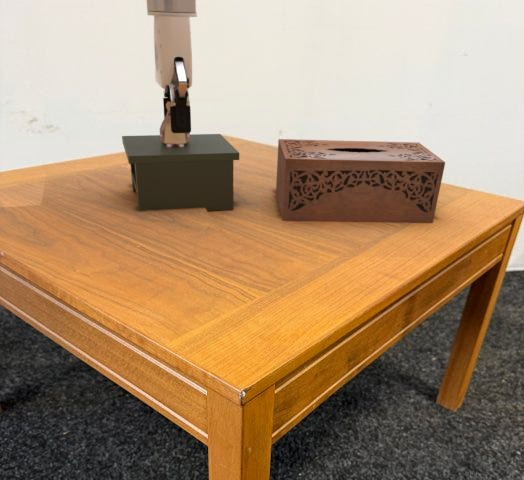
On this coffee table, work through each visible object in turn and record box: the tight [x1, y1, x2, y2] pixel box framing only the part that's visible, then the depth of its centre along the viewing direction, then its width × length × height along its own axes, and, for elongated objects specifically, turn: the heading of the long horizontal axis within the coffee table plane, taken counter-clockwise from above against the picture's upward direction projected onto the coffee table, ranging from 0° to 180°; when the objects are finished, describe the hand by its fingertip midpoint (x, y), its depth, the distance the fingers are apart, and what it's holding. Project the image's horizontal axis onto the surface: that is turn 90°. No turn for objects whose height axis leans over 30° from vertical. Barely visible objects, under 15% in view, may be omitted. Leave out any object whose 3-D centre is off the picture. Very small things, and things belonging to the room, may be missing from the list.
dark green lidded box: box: [121, 133, 240, 212], centre depth 97 cm, size 18×15×10 cm
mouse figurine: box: [159, 102, 191, 147], centre depth 94 cm, size 5×8×7 cm, turn 7°
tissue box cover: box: [275, 138, 446, 224], centre depth 96 cm, size 26×14×10 cm, turn 93°
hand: (177, 126), depth 93 cm, fingers open, 7 cm apart
